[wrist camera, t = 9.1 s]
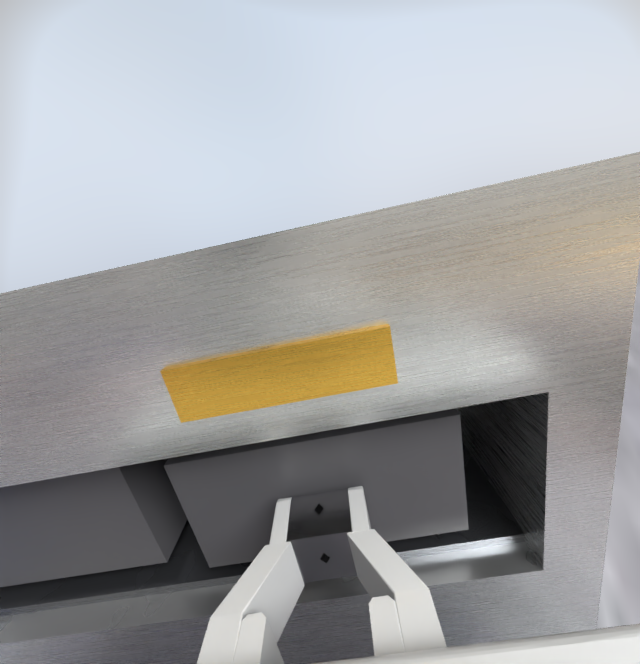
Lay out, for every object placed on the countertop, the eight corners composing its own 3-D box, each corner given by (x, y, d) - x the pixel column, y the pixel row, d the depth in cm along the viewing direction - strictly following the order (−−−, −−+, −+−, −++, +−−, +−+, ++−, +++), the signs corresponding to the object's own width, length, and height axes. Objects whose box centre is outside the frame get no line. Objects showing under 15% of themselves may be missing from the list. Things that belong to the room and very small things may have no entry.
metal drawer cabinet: (-92, 745, 14) (-501, 404, 8) (69, 545, 22) (-77, 316, 17) (597, 667, 12) (662, 146, 6) (478, 481, 20) (462, 197, 15)
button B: (209, 568, 12) (163, 465, 10) (241, 471, 17) (213, 392, 15) (468, 529, 11) (459, 414, 10) (424, 441, 16) (414, 354, 14)
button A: (-52, 595, 13) (-127, 508, 12) (48, 498, 18) (4, 427, 16) (167, 562, 12) (117, 465, 11) (209, 471, 17) (179, 394, 16)
